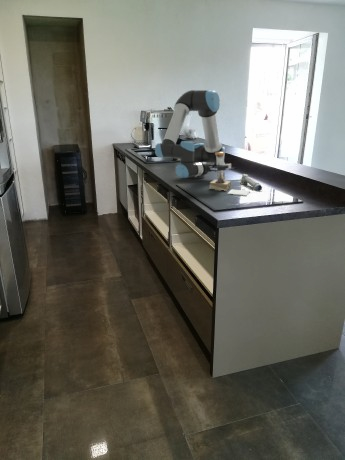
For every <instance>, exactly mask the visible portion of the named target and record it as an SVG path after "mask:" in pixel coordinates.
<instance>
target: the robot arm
mask: <svg viewBox="0 0 345 460" xmlns="http://www.w3.org/2000/svg"><path fill="white" fill-rule="evenodd" d="M173 110H174V111H173V114H172V116H171V118H170V121H169V124H168V127H167V129H166V132H165V135H164V138H163V139H162V142H159V143H157V144H156V145H155V147H154V148H155V149H154V152H155V156H156V157H159V158H163V159H165V158H167V159H168V158H169V159H179V162H180V163H179V164H177V165H176V167H175V174H176V176H177V177H178V178H180V179H181V178H182V179H183V178H184V179H194V180H195V179H205V178H206V175H207V174H208V173H210V172H216V173H217V171H221V170H223V171H224V172H225V171H226V170H228V169H232V163H226V162H224V164H223V165H217V160H216V156H215V153H216V152H224V154H226V147H225V146H223V145H222V144H223V143H221V142H220V141H219V140H220V139H219V132H218V131H219V130H218V125H217V116H216V114H217V113H218V111H219V110H220V95H219V93H218V92H217V91H216V90H212V89H211V90H210V89H207V90H205V89H204V90H202V89H200V90H197V89H195V90H194V89H191V90H188V91H186V92H184V93H183V94H181V96H179V97H178V99H177V100H176V101H175V104H174V107H173ZM190 112H197V114H198V116H199V117H201V123H202V129H203V133H204V139H205V143H204V142H202V143H195V142H194V141H191V140H189V141H188V140H182V141H181V142H180V143H179V144H177V141H178V139H179V136H180V134H181V131H182V127H183V125H184V124H185V120H186V118H187V116H188V115H189V114H190ZM224 157H226V156H225V155H224Z"/></svg>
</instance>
